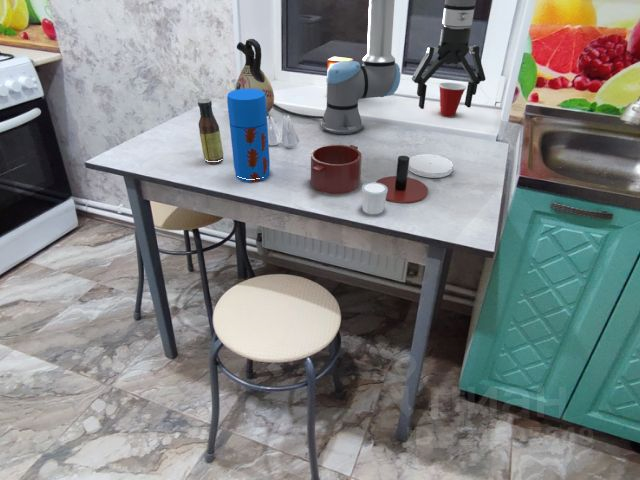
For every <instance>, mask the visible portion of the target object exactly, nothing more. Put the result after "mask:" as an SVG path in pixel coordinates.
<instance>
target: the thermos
mask: <svg viewBox="0 0 640 480" xmlns="http://www.w3.org/2000/svg"><path fill="white" fill-rule="evenodd" d="M226 95H227V97H226V100H227V101H226V103H227V111H228V123H229V130H230V140H231V151H232V161H233V168H234V173H236V174H235V178H236V179H237V180H238V181H240V182H244V183H249V184H251V183H252V184H253V183H259V182H260V183H261V182H263V181H265V180H267V179H269V177H270V176H271V175H270V173H271V172H270V169H271V166H270V145H269V143H268V126H267V109H266V97H265V93H264V92H263V91H261V90H258V89H238V90H235V89H234V90H231V91H229V92H228V93H227V94H226ZM237 176H239V177H242V178H246V179H255V180H246V179H242V178H239V177H237ZM262 177H264V178H262ZM256 178H260V179H256Z"/></svg>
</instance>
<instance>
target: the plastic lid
mask: <svg viewBox="0 0 640 480" xmlns="http://www.w3.org/2000/svg"><path fill="white" fill-rule="evenodd" d="M409 158H410V160H409V168H408V172H409V171H410V172H411V173H412V174H415V175H417V176H419V177H424V178H429V179H430V178H433V179H434V178H435V179H438V178H440V179H441V178H445V177H447V176H450V175H451V174H452V173H453V170H454V164H453V162H452V161H451V160H450V159H449V158H446V157H444V156H441V155H437V154H432V153H431V154H429V153H428V154H427V153H423V154H416V155H413V156H411V157H409Z"/></svg>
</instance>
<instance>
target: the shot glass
mask: <svg viewBox="0 0 640 480" xmlns="http://www.w3.org/2000/svg"><path fill="white" fill-rule="evenodd" d="M387 190H388V189H387V187H386V186H385V185H384V184H381V183H377V182H376V181H375V182H374V181H371V182H370V181H369V182H366V183H364V184H363V185H362V186H361V204H362V205H361V206H362V211H363V212H364V213H366V214H369V215H379V214H381V213H383V212H384V210H385V205H386V195H387Z"/></svg>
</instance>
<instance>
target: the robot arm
mask: <svg viewBox="0 0 640 480" xmlns="http://www.w3.org/2000/svg"><path fill="white" fill-rule="evenodd" d="M395 1H396V0H368V21H367V22H368V23H367V24H368V25H367V47H366V48H367V50H366V51H367V52H366V55H364V57H363V58H362V64H360V62H359V61H357V60H354V61H342V62H337V63H335V64H333V65H331V66H330V67H329V68H328V71H327V70H326V107H325V110H324V113H323V115H311V114H303V113H298V112H294V111H290V110H288V109H286V108H284V107H281V106H279V105H277V104H276V103H274V104H273V107H275V108H276V109H278V110H280V111H281V112H284V113H286V114H289V115H293V116H297V117H301V118H308V119H322V120H321V125H320V127H321V129H322V130H323V131H324V132H326V133H329V134H333V135H352V134H356V133H358V132H360V131H361V130H362V126H363V123H362V118H361V114H360V111H359V100H363V99H371V98H372V99H373V98H384V97H390V96H393V95H394V94H395V93H396V91H397V90H398V88H399V86H400V83H401V68H400V65H399V64H398V63H396V58H395V57H394V55H393V54H392V49H393V48H392V47H393V33H394V17H395V16H394V15H395V3H396V2H395ZM476 2H477V0H444V7H443V14H442V22H441V24H442V25H443V26H442V27H441V29H440V35H439V43H438V46H432V45H430V44H429V45H427V47H426V51H425V54H424V56H423V58H422V59H421V61H420V63H419V64H418V66H417V68H416V70H415V72H414V73H413V75H412V77H411V80H412V82H413V83H415V84H417V88H416V89H417V90H416V95H417V96H418V97H419V100H418V108H420V109H421V110H424V109H425V103H426V96H427V95H426V94H427V87H428V85H427V84H426V83H427V82H428V81H429V80H430V78H431V77H432V76H433V75H434V74H435V73H436V72H437V70H439V69H440V67H443V65H444V64H445V65H458V64H461V67H462V68H463V70H464V71H465V72H466V74H467V76H468V78H469V79H470V80H471V81H468V82H467V86H466V94H465V100H464V106H466V107H467V108H471V106H472V101H473V96H475V95H476V94H477V91H478V90H477V89H478V85H480V83H481V82H485V81H486V79H487V78H486V75H485V72H484V68H483V64H482V60H481V57H480V46H478V45H476V44H472V45H471V46H469V43H470V37H471V32H472V29H471V26H472V25H473V19H474V13H475V6H476ZM436 53H437V54H438V56H437V57H436V58H435V60H434V62H432V63H431V61H432V59H433V56H435V55H436ZM468 53H469V54H470V55H471V59H472V61H473V65H474V69H475V72H476V74H475V72H474V70H473V69H472V67H471V66H470V64H469V62H468V60H467V59H466V56H467V55H468ZM430 63H431V64H430ZM429 64H430V66H429ZM428 66H429V67H428ZM427 67H428V68H427Z"/></svg>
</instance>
